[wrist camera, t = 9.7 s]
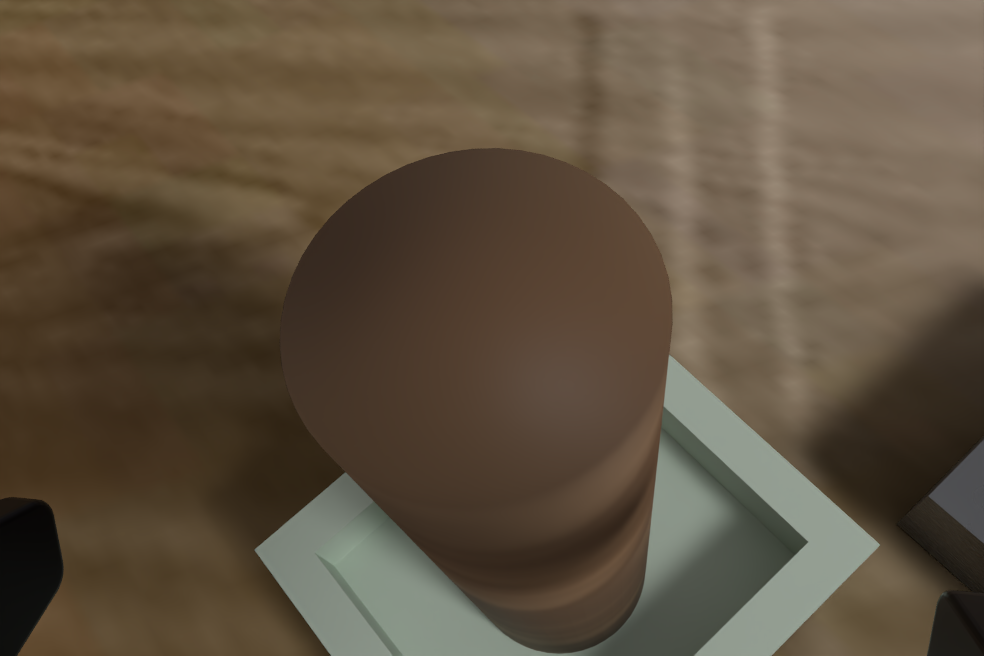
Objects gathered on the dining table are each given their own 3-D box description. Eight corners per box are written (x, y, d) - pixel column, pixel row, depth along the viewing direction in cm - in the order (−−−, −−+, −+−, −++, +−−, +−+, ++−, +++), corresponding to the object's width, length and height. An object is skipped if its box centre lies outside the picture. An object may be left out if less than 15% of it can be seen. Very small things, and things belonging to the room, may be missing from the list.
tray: (531, 894, 19) (518, 912, 17) (291, 570, 23) (254, 549, 20) (853, 568, 21) (880, 544, 19) (583, 318, 24) (579, 273, 22)
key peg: (610, 683, 19) (588, 572, 8) (444, 611, 21) (209, 421, 9) (669, 512, 21) (724, 203, 9) (510, 453, 22) (382, 111, 10)
